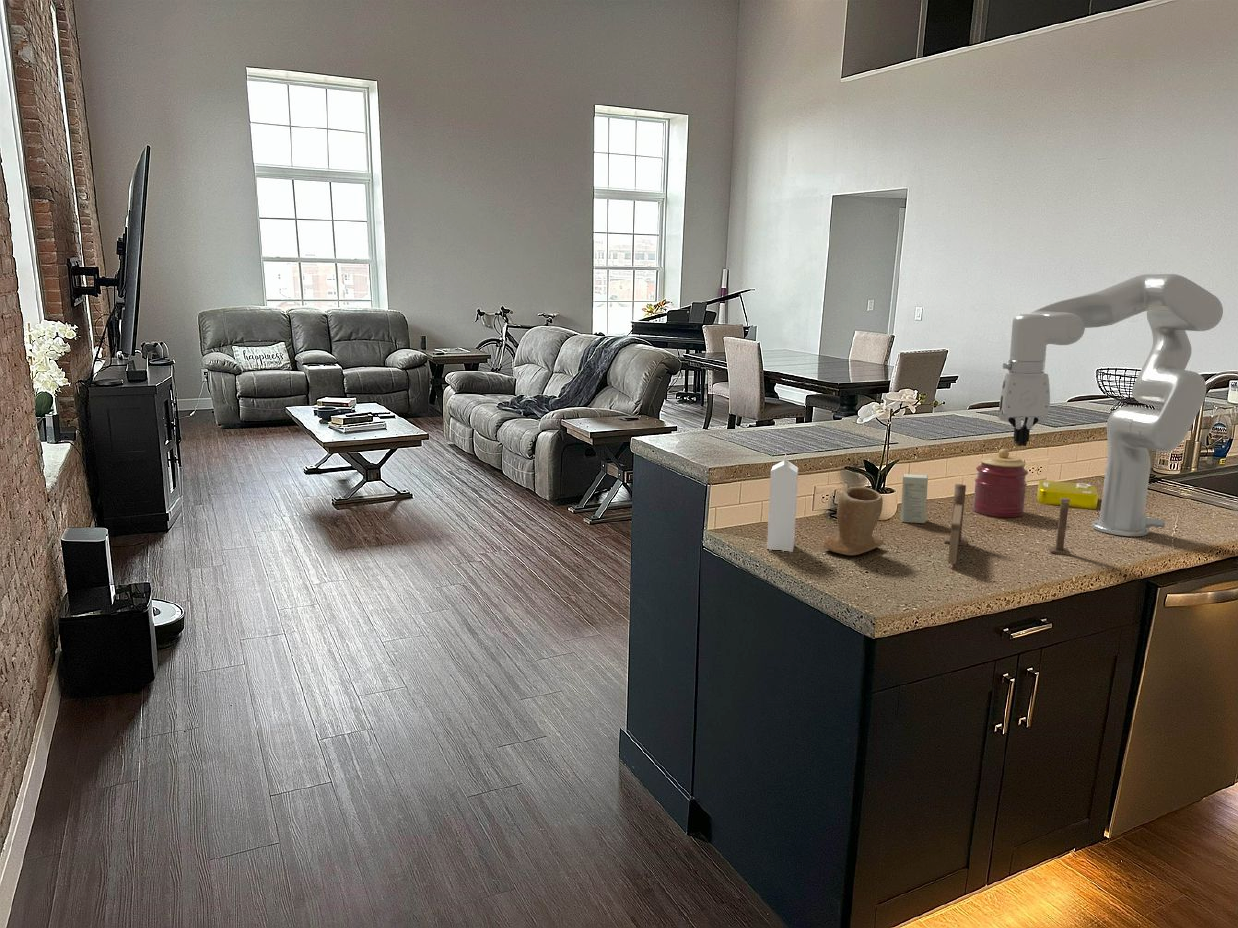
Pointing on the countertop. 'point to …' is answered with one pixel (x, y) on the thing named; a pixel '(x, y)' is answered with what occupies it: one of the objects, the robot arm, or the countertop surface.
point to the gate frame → (960, 499)
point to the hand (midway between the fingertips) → (1020, 444)
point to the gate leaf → (955, 533)
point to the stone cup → (856, 522)
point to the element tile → (1067, 494)
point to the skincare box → (914, 498)
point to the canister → (1000, 485)
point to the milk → (782, 506)
